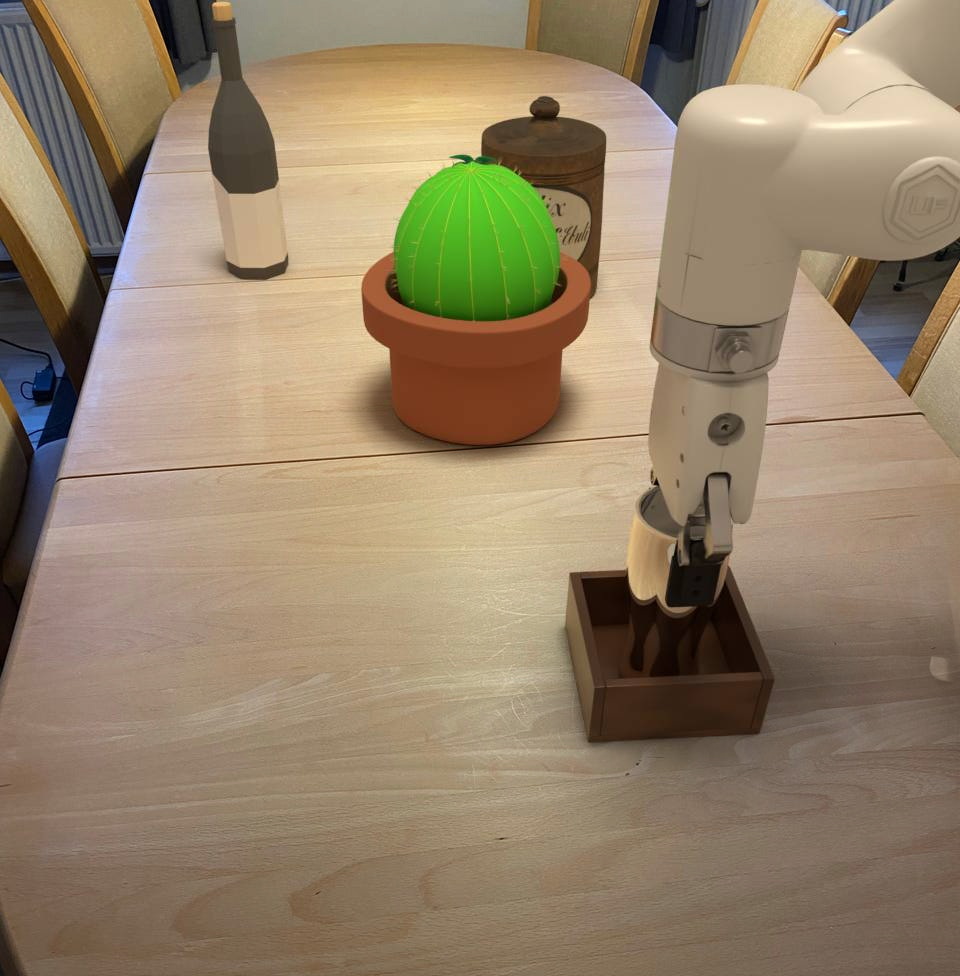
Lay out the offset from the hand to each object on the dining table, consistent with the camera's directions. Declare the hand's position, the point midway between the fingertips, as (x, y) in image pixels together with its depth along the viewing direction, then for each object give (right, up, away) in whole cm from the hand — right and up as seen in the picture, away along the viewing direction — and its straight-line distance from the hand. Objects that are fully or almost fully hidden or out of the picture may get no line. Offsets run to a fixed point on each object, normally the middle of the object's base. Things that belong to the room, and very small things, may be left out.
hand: (676, 566), depth 72 cm
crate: (0, -8, +7) cm, 11 cm away
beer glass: (0, -8, +7) cm, 10 cm away
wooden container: (-6, +40, +59) cm, 72 cm away
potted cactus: (-14, +20, +38) cm, 45 cm away
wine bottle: (-43, +44, +63) cm, 88 cm away
